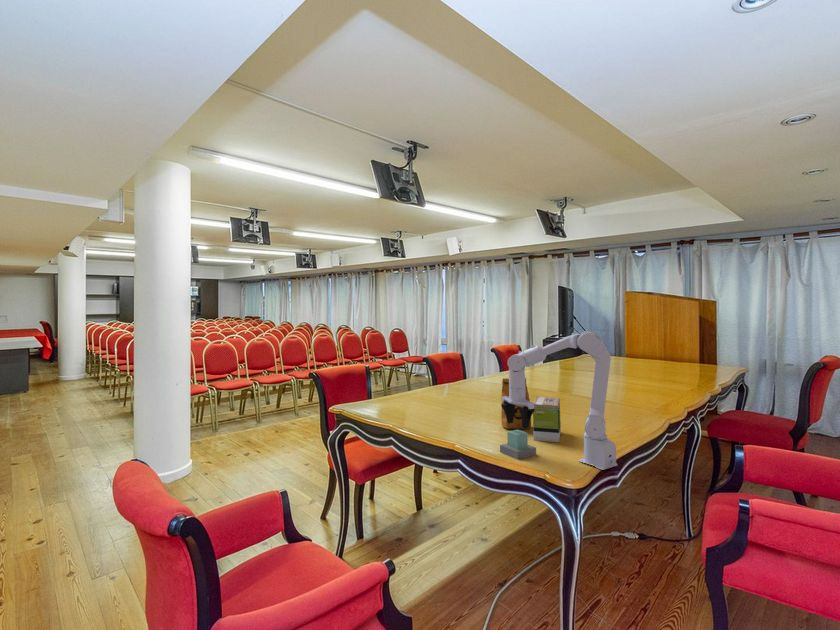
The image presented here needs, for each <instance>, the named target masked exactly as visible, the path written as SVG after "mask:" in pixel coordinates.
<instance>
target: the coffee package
mask: <svg viewBox="0 0 840 630" xmlns="http://www.w3.org/2000/svg"><path fill="white" fill-rule="evenodd" d="M501 385H502V387H501V397H500V398H501V399H500V400H502V397H504V396H507V397H509V377H508V378H505V377H504V378H502V381H501ZM525 398H526V400H528V401H530V400H531V399H530V395H529V391H528V385H527V377H525ZM530 402H531V401H530ZM501 404H504V402H502V401H501ZM519 408H524V407H522V406H518V405H515V409H514V420H513V423H508V422H507V418H506V415H505V412H504V410H503V408H502V407H501V419H500V420H501V426H502V427H503V428H505V429H509V430H510V429H512V430H530V429H531V427H532V417H531V418H530V422H529V426H528V428H523V427H522V418H521V413H520V411H519Z"/></svg>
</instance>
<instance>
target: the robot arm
mask: <svg viewBox="0 0 840 630" xmlns="http://www.w3.org/2000/svg"><path fill="white" fill-rule="evenodd" d="M567 348H571V349H577V348H579V349H580V350H582V351H583V352H585V353H586V354H588V355H589V356H590V357H591V358H592V359H593V360H594V361H595V365H594V372H593V381H592V382H593V383H592V388H591V389H592V391H591V397H590V405H589V406H590V407H589V414H588V415H587V416H586V419H585V424H584V433H583V458H580V459H578V462H579V461H580V462H579V463H582V462H583V464H584V463H587V464H590V465H591V464H593V465H594V466H595V467H596V469H598V470H601V471H602V470H603V471H604V470H607V469H611V468H613V467H617V466H618V463H617V446H616V444H615V442H614V441H612V440H610V439H609V438H608V435H607V434H606V433H607V430H606V420H605V410H606V409H605V408H606V401H607V400H606V399H607V391H608V384H609V377H610V367H611V360H612V357H611V354H610V352H609V351H608V349H607V348H606V345H605V344H604V343H603V340H602V338H600V337H599V336H598V335H597V334H596V333H595V332H594V331H590V330H585V331H583V332H581V334H580V333H576V334H571V335H567V336H565V337H563V338H561V339H559V340H555V341H554V342H552V343H549V344H547V345H545V346H542V345H538V344H537V345H534V344H533V345H531V346H530V348H527V349H525V350H519V351H518V353H516V354H512V355H511V356H510V357H509V358H508V359H507V367H508V373H509V374H508V378H509V397H507V396H504V397H502V396H501V398H502V399H501V404H500V406H501V409H502V408H503V410H504V412H505V415H506V418H507V422H508V423H513V420H514V409H515V405H518V406H522V407H524V408H519V411H520V413H521V418H522V427H523V428H528V426H529V422H530V418H531V419H532V417H533V412H534V411H535V408H534V402H532V401H528V400H526V398H525V378H526V374H525V373H526V372H525V371H526V370H525V367H530V366H534V365H536V364H538V363H541V362H543V361H545V360H546V359H547V355H551V354H554V353H556V352H559V351H562V350H565V349H567ZM502 402H504V404H502ZM587 464H586V465H587ZM590 465H589V466H590ZM595 467H594V468H595Z"/></svg>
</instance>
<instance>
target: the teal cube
mask: <svg viewBox="0 0 840 630" xmlns="http://www.w3.org/2000/svg"><path fill="white" fill-rule="evenodd" d="M506 433H507V435H506V436H507V437H506V438H507V443H508V446H510V447H513V448H515V449H521V448H525V447H528V445H529V444H528V437H529V436H528V435H529V434H528V432H526V431H523V430H521V429H513V430H510V431H509V430H508V431H506Z"/></svg>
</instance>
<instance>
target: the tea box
mask: <svg viewBox="0 0 840 630" xmlns="http://www.w3.org/2000/svg"><path fill="white" fill-rule="evenodd" d="M533 403H534V408H535V411H534V412H533V414H532V431H533V433H532V434H533V435H532V437H533V441H540V442H541V441H542V442H553V443H559V442H560V438H561V432H562V431H561V430H562V429H561V425H562V424H561V422H562V421H561V399H560V397H548V396H546V397H545V396H544V397H543V396H536V397H535V399H534V401H533Z"/></svg>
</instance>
